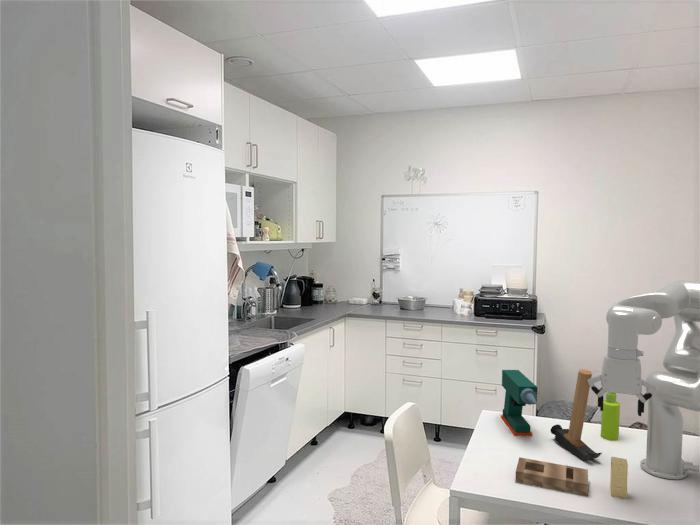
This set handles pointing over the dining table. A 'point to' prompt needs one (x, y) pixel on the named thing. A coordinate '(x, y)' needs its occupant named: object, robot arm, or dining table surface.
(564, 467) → the block
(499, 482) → the dining table surface
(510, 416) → the power tool
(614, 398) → the soap dispenser
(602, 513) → the dining table surface
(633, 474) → the dining table surface
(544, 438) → the dining table surface
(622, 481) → the square bit
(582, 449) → the hammer
